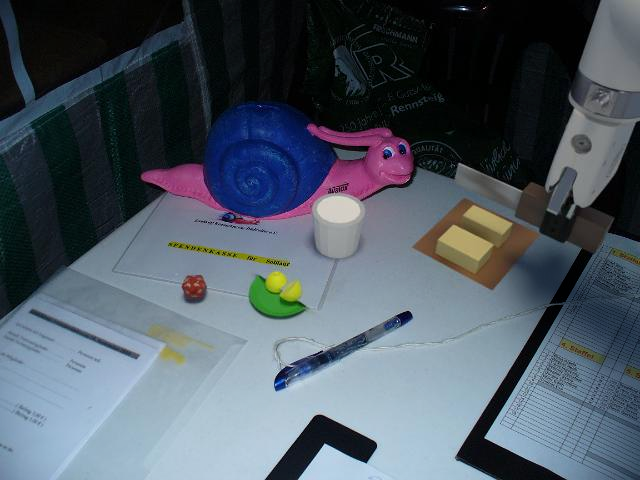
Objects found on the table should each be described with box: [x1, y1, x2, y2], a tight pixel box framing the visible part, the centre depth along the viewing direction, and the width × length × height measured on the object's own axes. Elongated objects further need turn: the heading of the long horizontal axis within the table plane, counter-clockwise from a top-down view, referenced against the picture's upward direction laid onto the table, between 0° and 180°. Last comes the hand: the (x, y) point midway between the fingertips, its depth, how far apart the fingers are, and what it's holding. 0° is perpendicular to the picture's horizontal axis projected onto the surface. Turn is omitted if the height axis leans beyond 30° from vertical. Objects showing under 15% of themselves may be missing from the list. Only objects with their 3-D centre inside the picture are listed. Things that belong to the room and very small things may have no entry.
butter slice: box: [460, 205, 513, 248], centre depth 81 cm, size 6×3×2 cm, turn 50°
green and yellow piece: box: [248, 270, 308, 317], centre depth 73 cm, size 8×8×3 cm
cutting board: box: [411, 197, 541, 291], centre depth 81 cm, size 12×14×1 cm
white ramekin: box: [311, 192, 366, 260], centre depth 78 cm, size 7×7×7 cm
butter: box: [435, 225, 494, 274], centre depth 78 cm, size 6×4×2 cm, turn 50°
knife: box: [453, 162, 615, 255], centre depth 72 cm, size 19×2×4 cm, turn 50°
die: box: [180, 274, 208, 300], centre depth 73 cm, size 3×3×3 cm
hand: (558, 229), depth 71 cm, fingers closed on knife, 2 cm apart
